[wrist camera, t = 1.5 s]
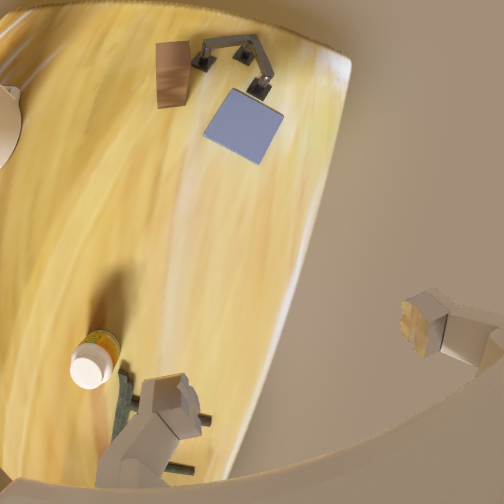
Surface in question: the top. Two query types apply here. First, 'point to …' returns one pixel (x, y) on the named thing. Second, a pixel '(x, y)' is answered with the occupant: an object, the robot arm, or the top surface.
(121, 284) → the top surface
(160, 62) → the walnut peg
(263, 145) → the pad
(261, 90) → the bent rail on posts
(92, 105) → the top surface
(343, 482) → the robot arm
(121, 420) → the miniature torii gate
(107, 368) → the supplement bottle
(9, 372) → the top surface
